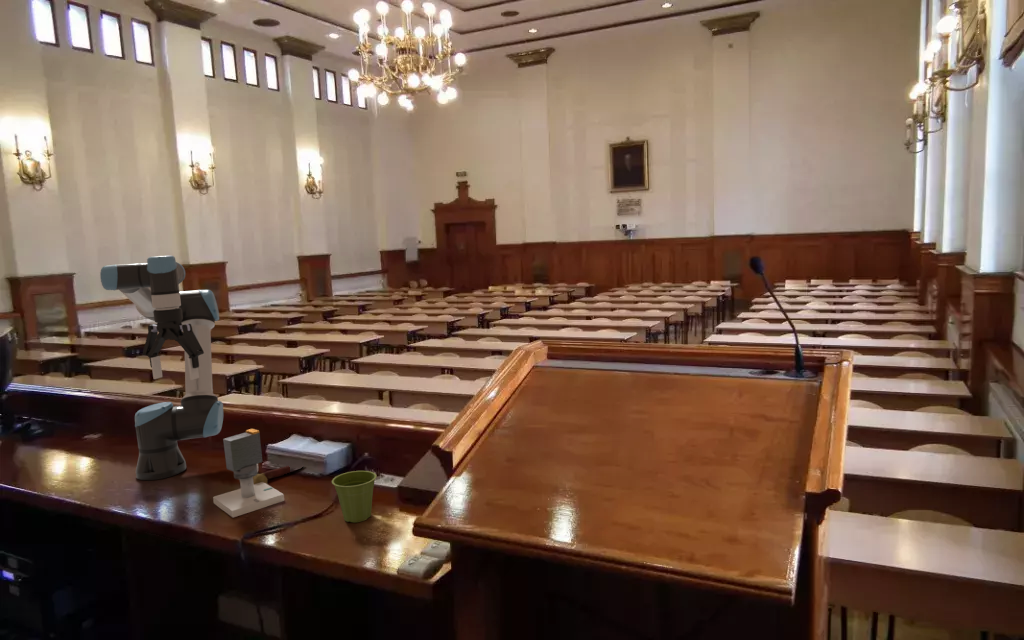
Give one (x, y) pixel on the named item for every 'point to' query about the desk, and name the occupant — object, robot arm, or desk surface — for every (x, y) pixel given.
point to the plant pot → (355, 494)
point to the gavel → (270, 474)
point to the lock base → (248, 498)
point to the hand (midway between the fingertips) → (176, 378)
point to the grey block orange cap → (243, 453)
